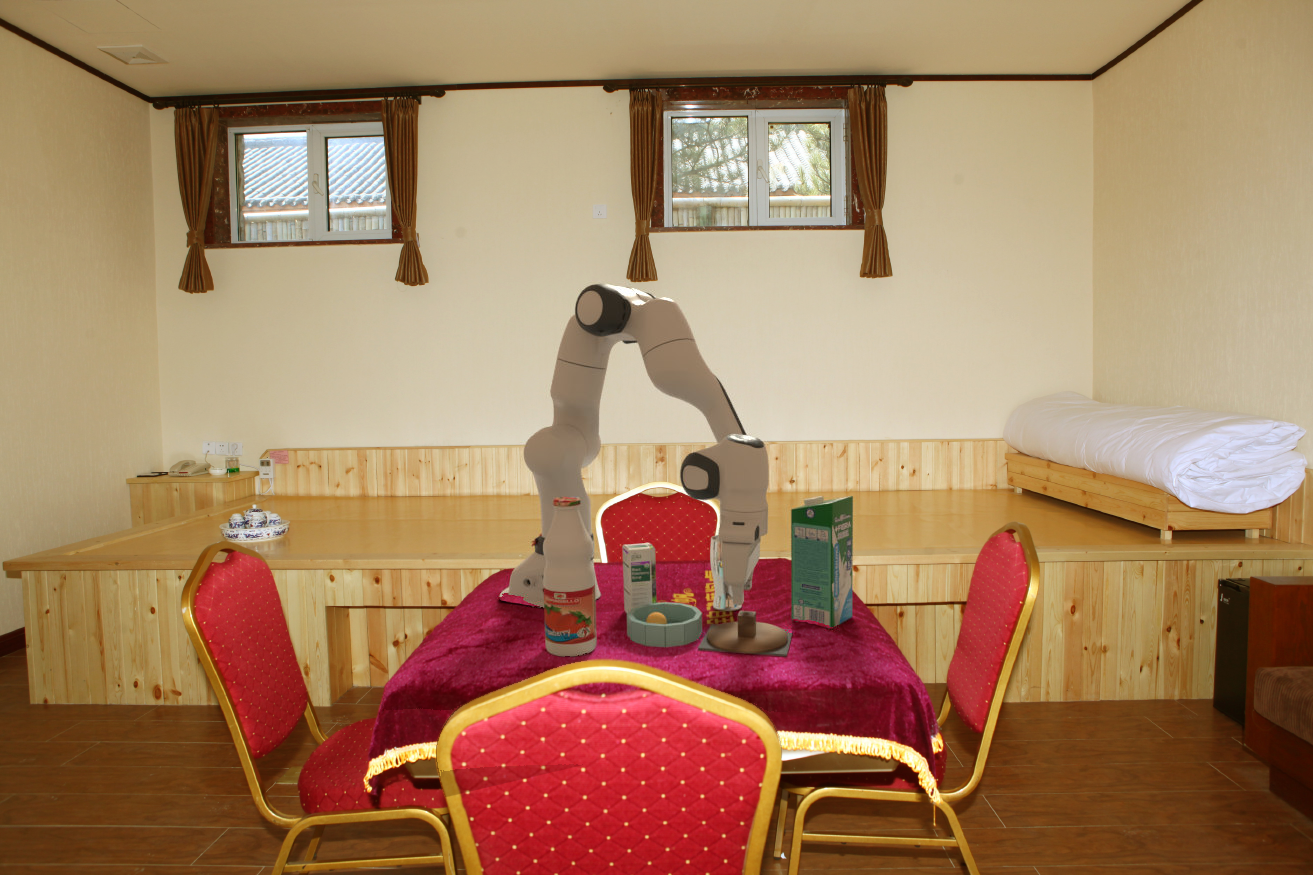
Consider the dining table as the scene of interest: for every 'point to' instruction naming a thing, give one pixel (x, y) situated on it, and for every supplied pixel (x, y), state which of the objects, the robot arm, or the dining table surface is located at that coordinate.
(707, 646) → the mat
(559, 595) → the fruit juice
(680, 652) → the dining table surface
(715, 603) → the chrome tumbler
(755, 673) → the dining table surface
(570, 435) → the robot arm
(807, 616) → the milk carton
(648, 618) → the tangerine
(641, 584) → the syrup box
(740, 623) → the lid
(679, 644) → the bowl
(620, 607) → the dining table surface
